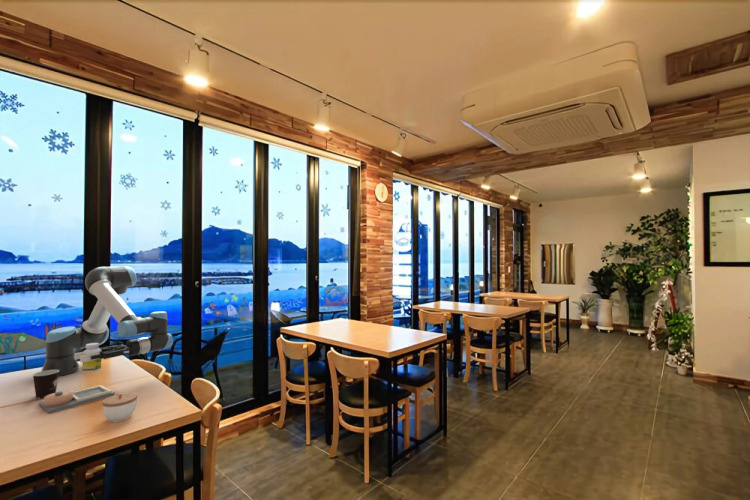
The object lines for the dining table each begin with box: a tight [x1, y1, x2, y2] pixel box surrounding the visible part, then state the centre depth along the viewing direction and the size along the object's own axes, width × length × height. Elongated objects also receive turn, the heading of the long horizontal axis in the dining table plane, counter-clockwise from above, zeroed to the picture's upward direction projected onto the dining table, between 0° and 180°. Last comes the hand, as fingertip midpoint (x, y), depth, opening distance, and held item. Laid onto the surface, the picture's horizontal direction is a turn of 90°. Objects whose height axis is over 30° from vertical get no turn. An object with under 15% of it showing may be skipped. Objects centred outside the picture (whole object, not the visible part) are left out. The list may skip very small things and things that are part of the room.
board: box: [38, 384, 116, 414], centre depth 151 cm, size 14×22×5 cm, turn 146°
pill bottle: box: [82, 343, 102, 373], centre depth 156 cm, size 6×6×12 cm
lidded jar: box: [102, 392, 138, 423], centre depth 134 cm, size 11×11×9 cm
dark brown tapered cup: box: [32, 370, 60, 399], centre depth 158 cm, size 12×9×10 cm
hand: (77, 357), depth 151 cm, fingers closed on pill bottle, 6 cm apart
